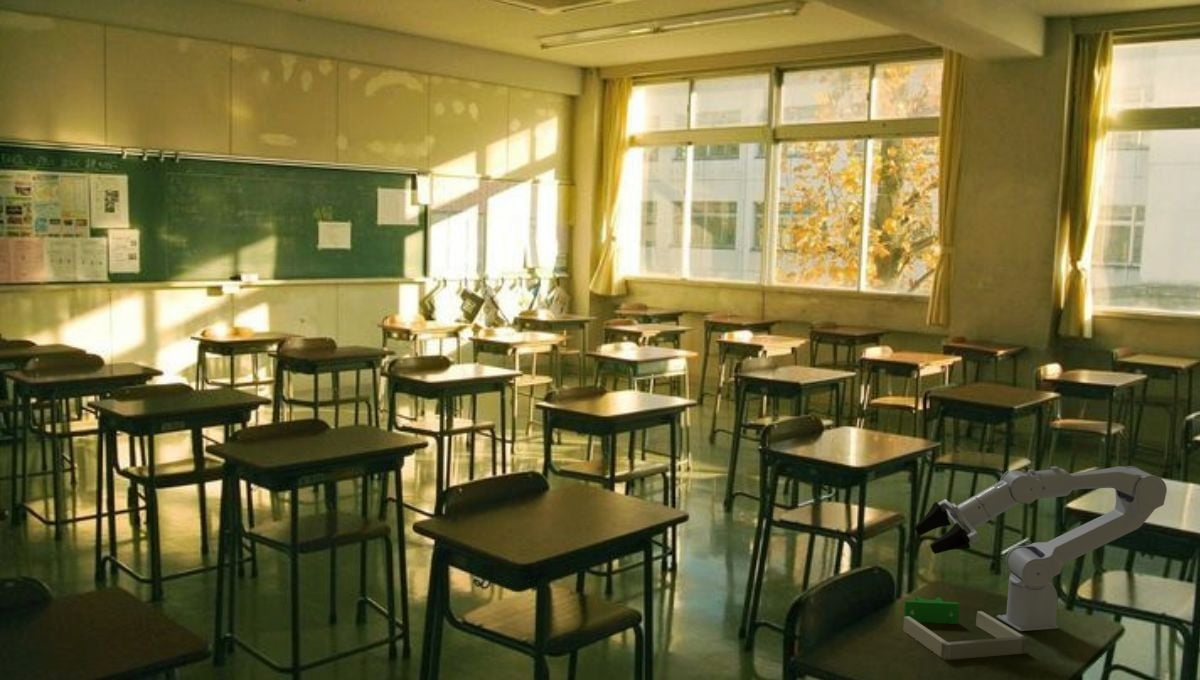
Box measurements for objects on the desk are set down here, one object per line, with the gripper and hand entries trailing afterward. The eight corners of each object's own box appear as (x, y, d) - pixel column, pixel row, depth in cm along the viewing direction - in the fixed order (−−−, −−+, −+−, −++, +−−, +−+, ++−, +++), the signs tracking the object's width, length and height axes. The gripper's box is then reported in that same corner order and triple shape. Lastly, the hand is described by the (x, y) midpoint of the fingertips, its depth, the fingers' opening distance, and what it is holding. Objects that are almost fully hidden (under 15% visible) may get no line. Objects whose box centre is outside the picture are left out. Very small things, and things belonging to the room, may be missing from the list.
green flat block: (952, 618, 218) (953, 597, 218) (957, 625, 214) (959, 604, 214) (899, 615, 218) (901, 595, 218) (904, 622, 215) (906, 601, 214)
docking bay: (980, 624, 214) (981, 611, 214) (1026, 653, 200) (1027, 638, 200) (903, 630, 209) (904, 616, 209) (944, 660, 195) (945, 645, 195)
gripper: (958, 478, 219) (902, 509, 219) (991, 510, 205) (932, 544, 206) (970, 502, 221) (915, 533, 222) (1003, 536, 208) (945, 569, 208)
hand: (924, 540), depth 214 cm, fingers open, 7 cm apart
